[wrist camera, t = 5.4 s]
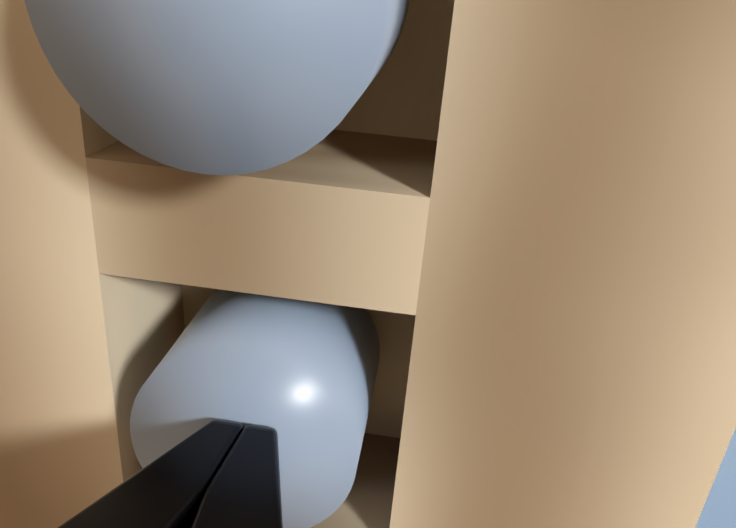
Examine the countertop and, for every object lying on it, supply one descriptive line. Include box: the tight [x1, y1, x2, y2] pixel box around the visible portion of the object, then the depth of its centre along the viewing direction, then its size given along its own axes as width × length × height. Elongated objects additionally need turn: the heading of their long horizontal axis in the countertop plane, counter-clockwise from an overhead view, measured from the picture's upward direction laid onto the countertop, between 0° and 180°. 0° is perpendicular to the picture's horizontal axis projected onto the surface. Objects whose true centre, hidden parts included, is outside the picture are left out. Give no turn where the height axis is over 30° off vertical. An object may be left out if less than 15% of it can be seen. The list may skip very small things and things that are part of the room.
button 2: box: [130, 289, 380, 528], centre depth 9 cm, size 3×3×2 cm
